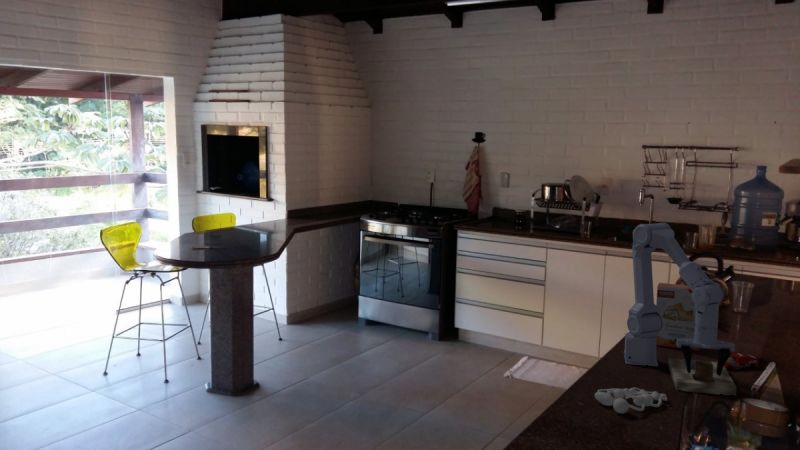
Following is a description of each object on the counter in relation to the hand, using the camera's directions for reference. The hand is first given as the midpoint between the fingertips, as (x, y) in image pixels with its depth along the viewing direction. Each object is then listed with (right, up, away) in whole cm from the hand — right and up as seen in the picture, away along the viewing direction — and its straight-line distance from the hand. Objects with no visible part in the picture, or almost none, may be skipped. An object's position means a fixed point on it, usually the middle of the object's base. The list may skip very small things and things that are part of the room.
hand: (703, 373), depth 179 cm
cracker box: (+8, +1, +35) cm, 36 cm away
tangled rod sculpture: (-25, -6, -10) cm, 27 cm away
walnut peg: (0, -4, 0) cm, 4 cm away
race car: (+18, -2, +16) cm, 24 cm away
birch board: (+1, -3, +5) cm, 6 cm away
